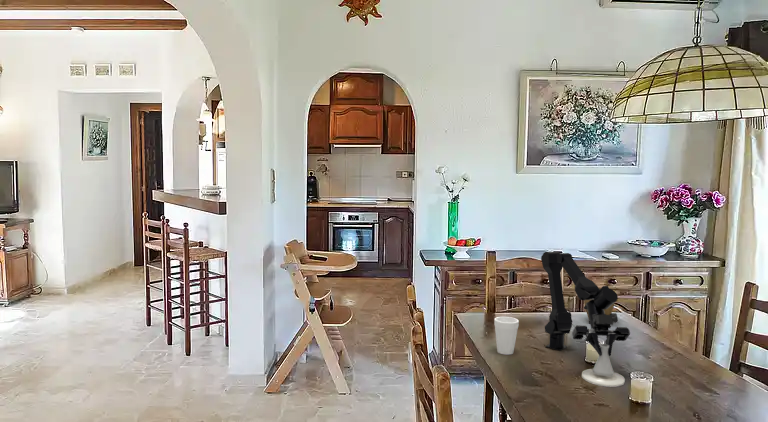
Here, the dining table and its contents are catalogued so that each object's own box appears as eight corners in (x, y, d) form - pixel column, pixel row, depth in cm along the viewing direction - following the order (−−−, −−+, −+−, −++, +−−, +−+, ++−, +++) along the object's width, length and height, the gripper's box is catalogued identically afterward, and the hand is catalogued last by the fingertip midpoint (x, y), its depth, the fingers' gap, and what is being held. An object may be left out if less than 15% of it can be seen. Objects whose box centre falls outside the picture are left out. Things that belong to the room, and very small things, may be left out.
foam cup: (503, 357, 219) (504, 324, 218) (488, 349, 227) (489, 318, 226) (522, 353, 224) (523, 321, 223) (507, 346, 232) (508, 315, 231)
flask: (615, 377, 195) (617, 349, 194) (593, 375, 197) (595, 347, 196) (612, 370, 202) (613, 342, 201) (590, 368, 204) (592, 341, 203)
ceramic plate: (591, 368, 209) (591, 365, 209) (630, 379, 200) (630, 376, 200) (575, 378, 199) (575, 375, 199) (615, 390, 189) (615, 387, 189)
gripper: (576, 303, 201) (584, 344, 191) (630, 305, 201) (640, 346, 191) (569, 318, 210) (575, 358, 200) (620, 320, 209) (629, 360, 199)
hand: (605, 355), depth 197 cm, fingers closed on flask, 3 cm apart
